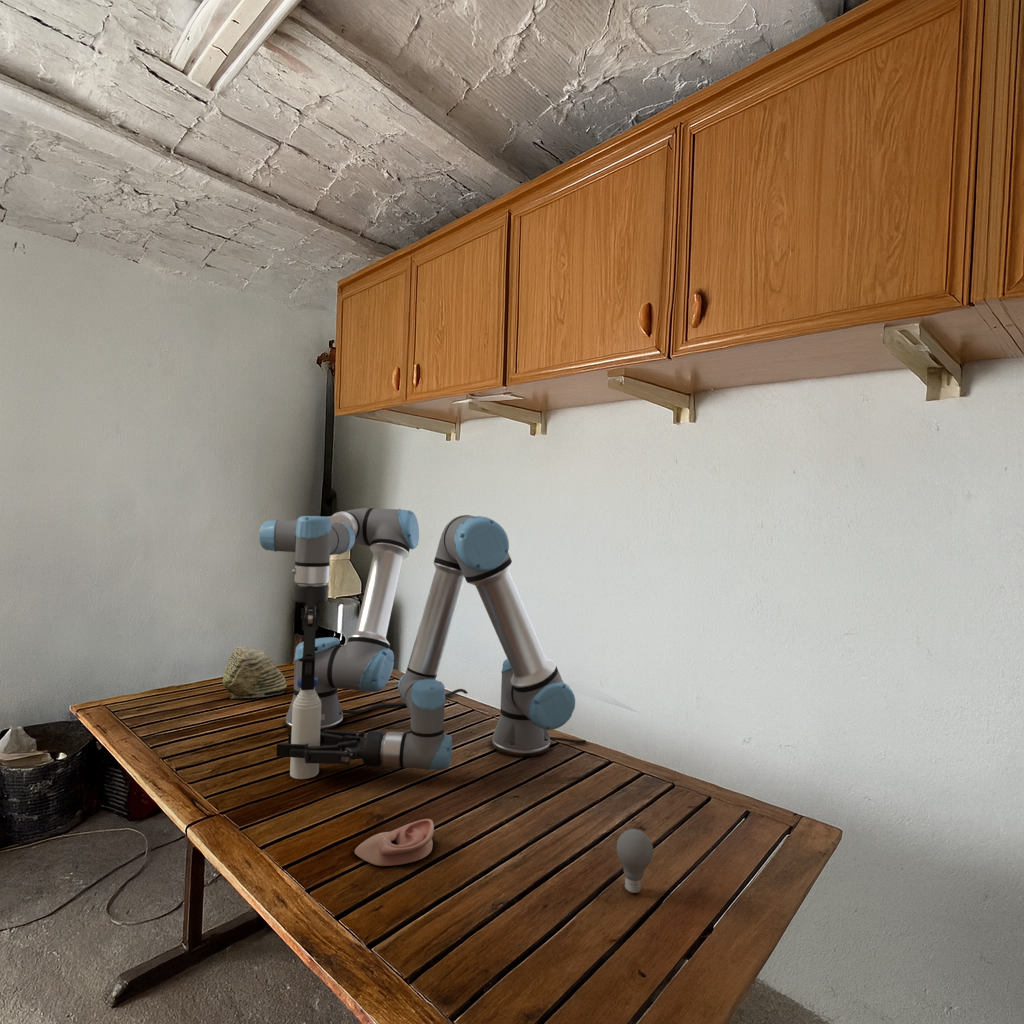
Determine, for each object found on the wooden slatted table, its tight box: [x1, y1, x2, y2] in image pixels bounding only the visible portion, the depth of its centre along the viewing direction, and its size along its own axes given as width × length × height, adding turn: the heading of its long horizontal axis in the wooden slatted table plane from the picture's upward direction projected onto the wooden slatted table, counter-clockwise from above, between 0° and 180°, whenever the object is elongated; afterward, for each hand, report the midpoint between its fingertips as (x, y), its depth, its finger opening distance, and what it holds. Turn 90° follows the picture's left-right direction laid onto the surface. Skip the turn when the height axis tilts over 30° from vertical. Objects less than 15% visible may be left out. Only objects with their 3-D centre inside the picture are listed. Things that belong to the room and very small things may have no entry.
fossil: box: [222, 646, 288, 699], centre depth 198 cm, size 9×18×15 cm, turn 132°
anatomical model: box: [354, 818, 435, 867], centre depth 115 cm, size 13×4×12 cm
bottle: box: [289, 687, 321, 780], centre depth 144 cm, size 6×6×21 cm
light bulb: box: [615, 828, 654, 894], centre depth 106 cm, size 6×6×10 cm
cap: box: [298, 676, 318, 688], centre depth 144 cm, size 4×4×2 cm
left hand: (307, 684), depth 144 cm, fingers open, 7 cm apart
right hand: (283, 743), depth 145 cm, fingers closed on bottle, 6 cm apart
